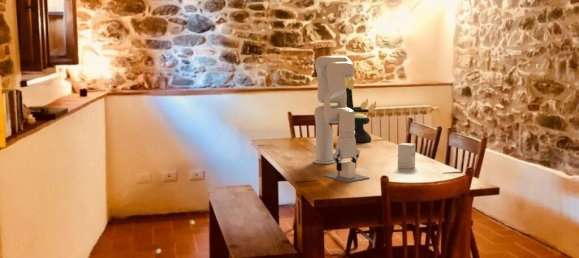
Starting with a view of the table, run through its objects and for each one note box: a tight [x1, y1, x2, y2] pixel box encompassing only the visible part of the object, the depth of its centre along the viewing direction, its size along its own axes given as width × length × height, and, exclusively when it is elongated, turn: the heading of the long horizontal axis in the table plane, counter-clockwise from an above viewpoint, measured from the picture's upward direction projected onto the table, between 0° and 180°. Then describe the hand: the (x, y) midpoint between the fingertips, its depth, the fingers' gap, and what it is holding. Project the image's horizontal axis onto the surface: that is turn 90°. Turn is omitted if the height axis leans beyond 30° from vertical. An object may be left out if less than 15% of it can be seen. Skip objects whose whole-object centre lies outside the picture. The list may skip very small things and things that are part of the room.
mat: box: [323, 172, 370, 184], centre depth 303 cm, size 14×18×1 cm
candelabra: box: [345, 77, 377, 144], centre depth 410 cm, size 19×22×45 cm
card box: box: [337, 160, 357, 178], centre depth 303 cm, size 8×4×7 cm, turn 37°
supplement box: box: [397, 142, 417, 170], centre depth 327 cm, size 7×7×13 cm
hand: (346, 169), depth 303 cm, fingers open, 9 cm apart
